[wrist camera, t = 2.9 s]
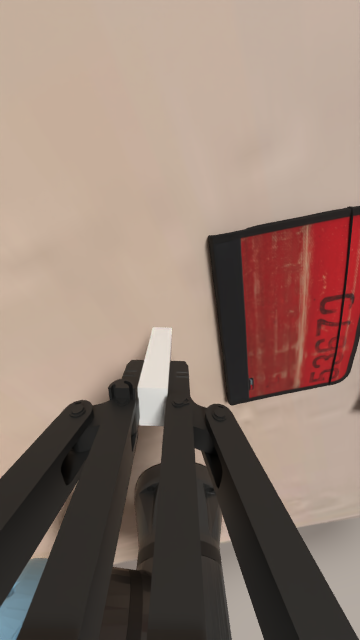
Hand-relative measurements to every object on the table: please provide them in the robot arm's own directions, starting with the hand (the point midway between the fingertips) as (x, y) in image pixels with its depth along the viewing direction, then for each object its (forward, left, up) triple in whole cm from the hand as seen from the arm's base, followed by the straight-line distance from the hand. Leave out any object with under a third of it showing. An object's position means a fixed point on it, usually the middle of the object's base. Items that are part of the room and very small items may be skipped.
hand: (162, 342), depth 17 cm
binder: (0, -14, -8) cm, 16 cm away
